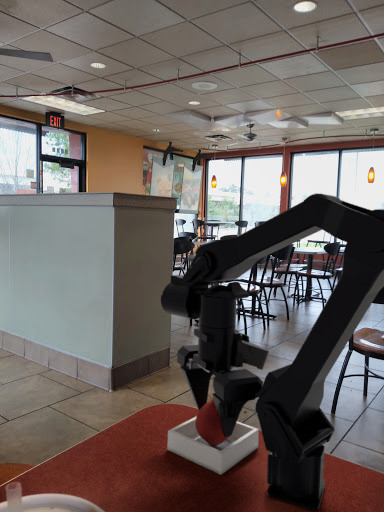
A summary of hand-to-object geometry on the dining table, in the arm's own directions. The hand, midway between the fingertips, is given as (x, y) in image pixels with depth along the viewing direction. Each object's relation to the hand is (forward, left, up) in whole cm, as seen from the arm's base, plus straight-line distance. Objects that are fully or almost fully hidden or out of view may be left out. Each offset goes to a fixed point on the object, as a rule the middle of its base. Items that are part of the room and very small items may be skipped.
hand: (213, 422), depth 66 cm
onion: (0, 0, -4) cm, 4 cm away
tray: (0, 0, -4) cm, 4 cm away
